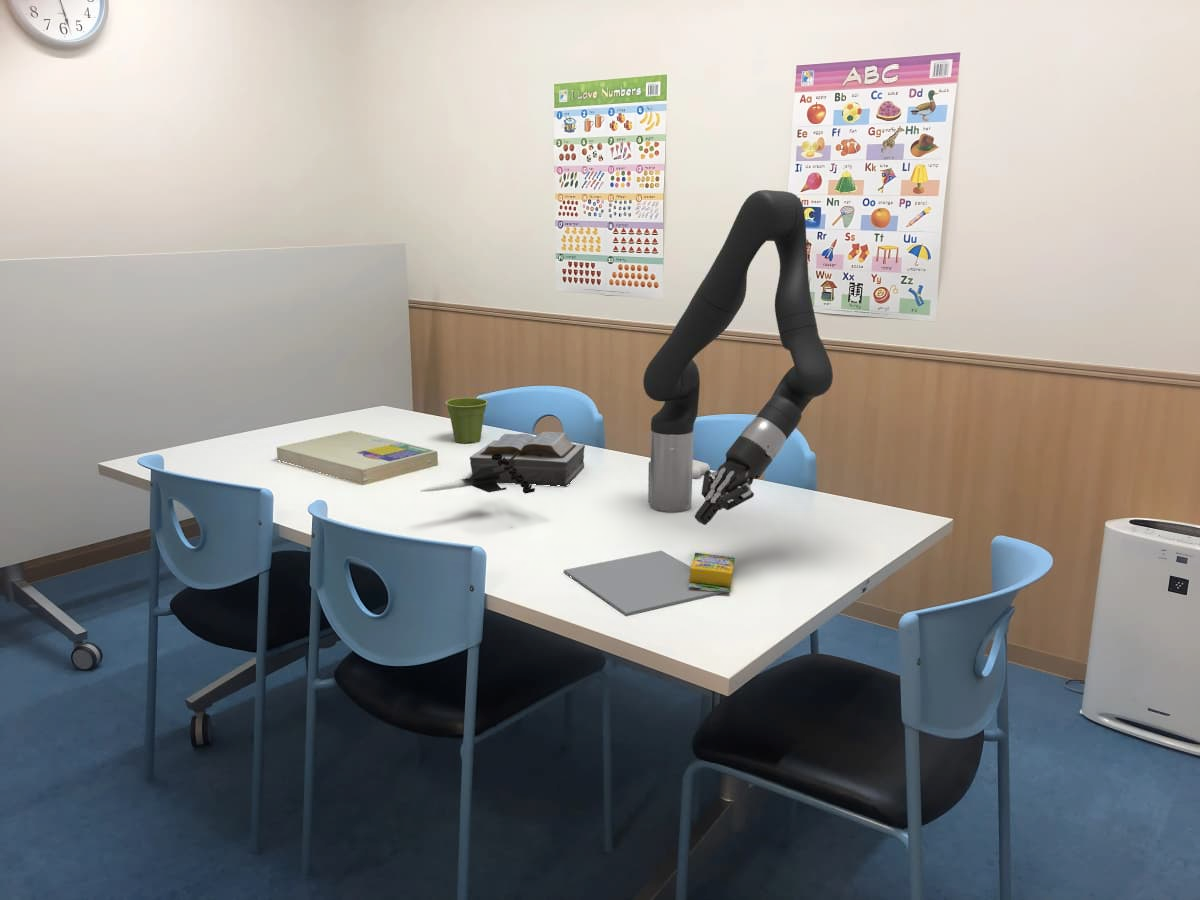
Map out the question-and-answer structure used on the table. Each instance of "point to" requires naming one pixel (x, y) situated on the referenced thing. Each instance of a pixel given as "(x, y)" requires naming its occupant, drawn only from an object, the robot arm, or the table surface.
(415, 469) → the puzzle box
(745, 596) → the table surface
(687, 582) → the slate mat
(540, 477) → the bible
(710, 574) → the crayon box
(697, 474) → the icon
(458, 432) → the plant pot
